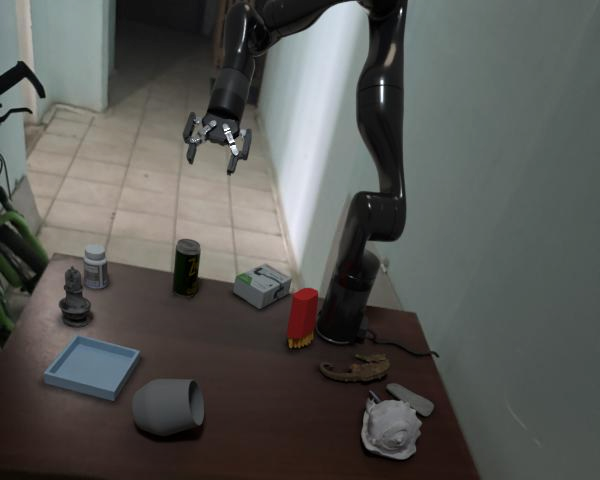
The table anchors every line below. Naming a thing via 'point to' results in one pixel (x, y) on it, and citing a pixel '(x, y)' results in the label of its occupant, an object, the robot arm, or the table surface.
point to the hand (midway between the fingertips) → (209, 168)
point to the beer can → (186, 267)
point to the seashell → (390, 429)
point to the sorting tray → (93, 367)
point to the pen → (375, 397)
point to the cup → (168, 406)
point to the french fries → (302, 317)
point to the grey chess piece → (74, 301)
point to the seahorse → (361, 369)
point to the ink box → (262, 285)
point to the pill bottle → (95, 266)
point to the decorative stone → (411, 399)
